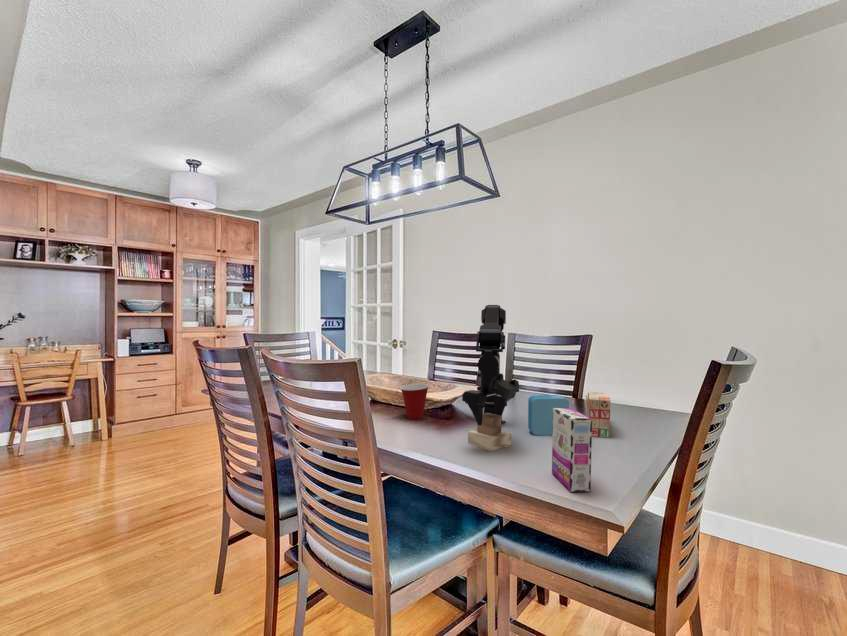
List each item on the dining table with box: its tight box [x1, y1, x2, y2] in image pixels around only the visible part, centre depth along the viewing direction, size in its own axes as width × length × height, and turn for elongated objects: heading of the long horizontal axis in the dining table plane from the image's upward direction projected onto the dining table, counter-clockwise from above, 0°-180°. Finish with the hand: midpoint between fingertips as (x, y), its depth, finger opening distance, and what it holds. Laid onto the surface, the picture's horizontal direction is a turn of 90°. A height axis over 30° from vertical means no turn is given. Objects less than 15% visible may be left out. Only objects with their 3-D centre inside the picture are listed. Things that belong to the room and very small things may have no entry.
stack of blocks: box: [585, 391, 612, 439], centre depth 143 cm, size 21×6×12 cm, turn 161°
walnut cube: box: [476, 413, 502, 436], centre depth 126 cm, size 5×5×5 cm
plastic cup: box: [399, 383, 430, 420], centre depth 156 cm, size 11×11×12 cm
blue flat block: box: [527, 394, 570, 436], centre depth 137 cm, size 12×4×12 cm, turn 91°
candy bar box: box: [551, 407, 593, 493], centre depth 98 cm, size 11×5×16 cm, turn 5°
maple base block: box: [467, 428, 512, 452], centre depth 126 cm, size 9×9×4 cm
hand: (489, 422), depth 126 cm, fingers open, 9 cm apart
